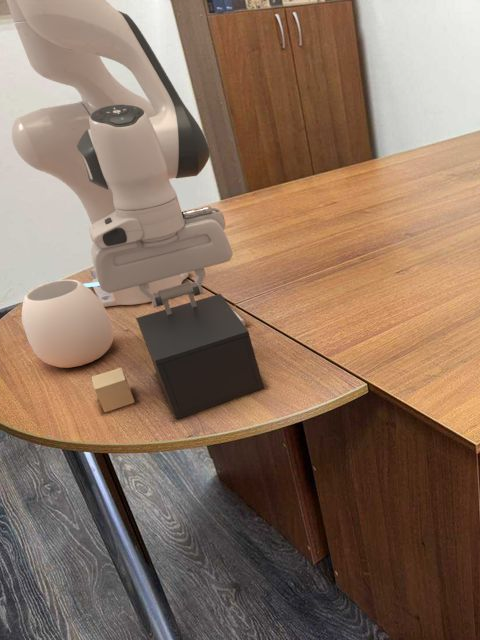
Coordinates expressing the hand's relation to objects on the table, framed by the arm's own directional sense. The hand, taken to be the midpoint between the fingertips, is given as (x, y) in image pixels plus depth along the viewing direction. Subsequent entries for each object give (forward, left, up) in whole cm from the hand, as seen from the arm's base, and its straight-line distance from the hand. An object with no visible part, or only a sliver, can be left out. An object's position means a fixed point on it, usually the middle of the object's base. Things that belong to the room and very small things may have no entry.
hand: (178, 299), depth 107 cm
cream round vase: (-21, -12, -13) cm, 27 cm away
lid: (+6, -1, -3) cm, 7 cm away
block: (0, -14, -13) cm, 19 cm away
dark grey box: (+6, -1, -13) cm, 14 cm away
